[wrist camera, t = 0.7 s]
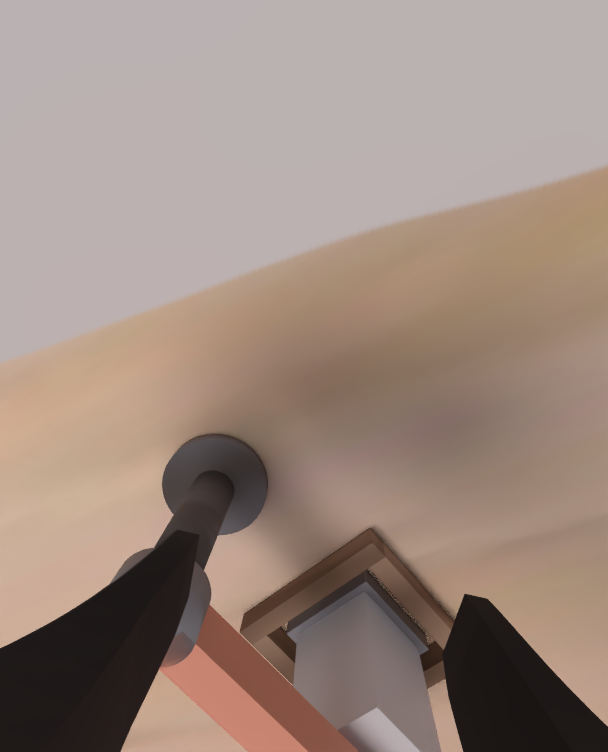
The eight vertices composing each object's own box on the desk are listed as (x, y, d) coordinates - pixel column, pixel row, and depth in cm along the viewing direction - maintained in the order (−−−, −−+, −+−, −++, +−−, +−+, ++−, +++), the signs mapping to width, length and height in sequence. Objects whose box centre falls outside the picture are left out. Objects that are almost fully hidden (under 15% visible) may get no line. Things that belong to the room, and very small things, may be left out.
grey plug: (424, 633, 24) (462, 780, 17) (348, 680, 25) (355, 835, 18) (364, 567, 23) (378, 695, 17) (288, 618, 24) (272, 757, 18)
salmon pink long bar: (473, 839, 17) (487, 895, 16) (405, 870, 18) (413, 928, 16) (164, 530, 15) (144, 562, 13) (98, 581, 15) (71, 618, 14)
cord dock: (470, 640, 24) (528, 797, 17) (344, 714, 26) (349, 883, 19) (248, 391, 21) (207, 458, 14) (122, 494, 23) (32, 598, 16)
